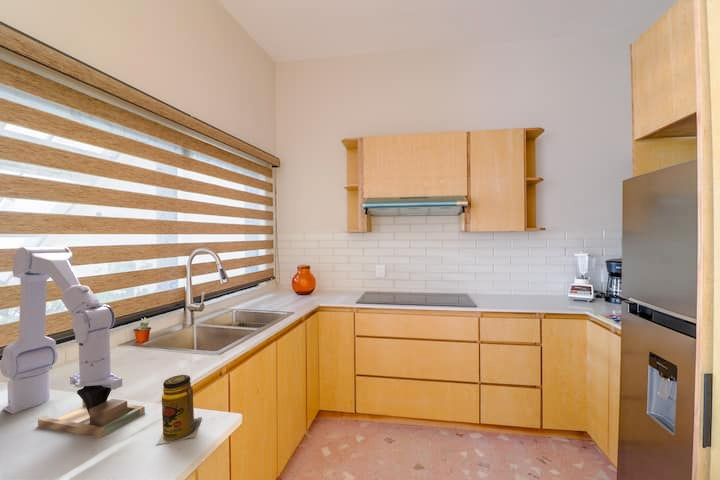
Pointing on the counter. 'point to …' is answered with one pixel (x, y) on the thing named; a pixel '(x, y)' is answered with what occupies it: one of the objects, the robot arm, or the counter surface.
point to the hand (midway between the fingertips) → (96, 416)
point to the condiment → (178, 410)
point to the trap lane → (88, 421)
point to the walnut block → (107, 412)
